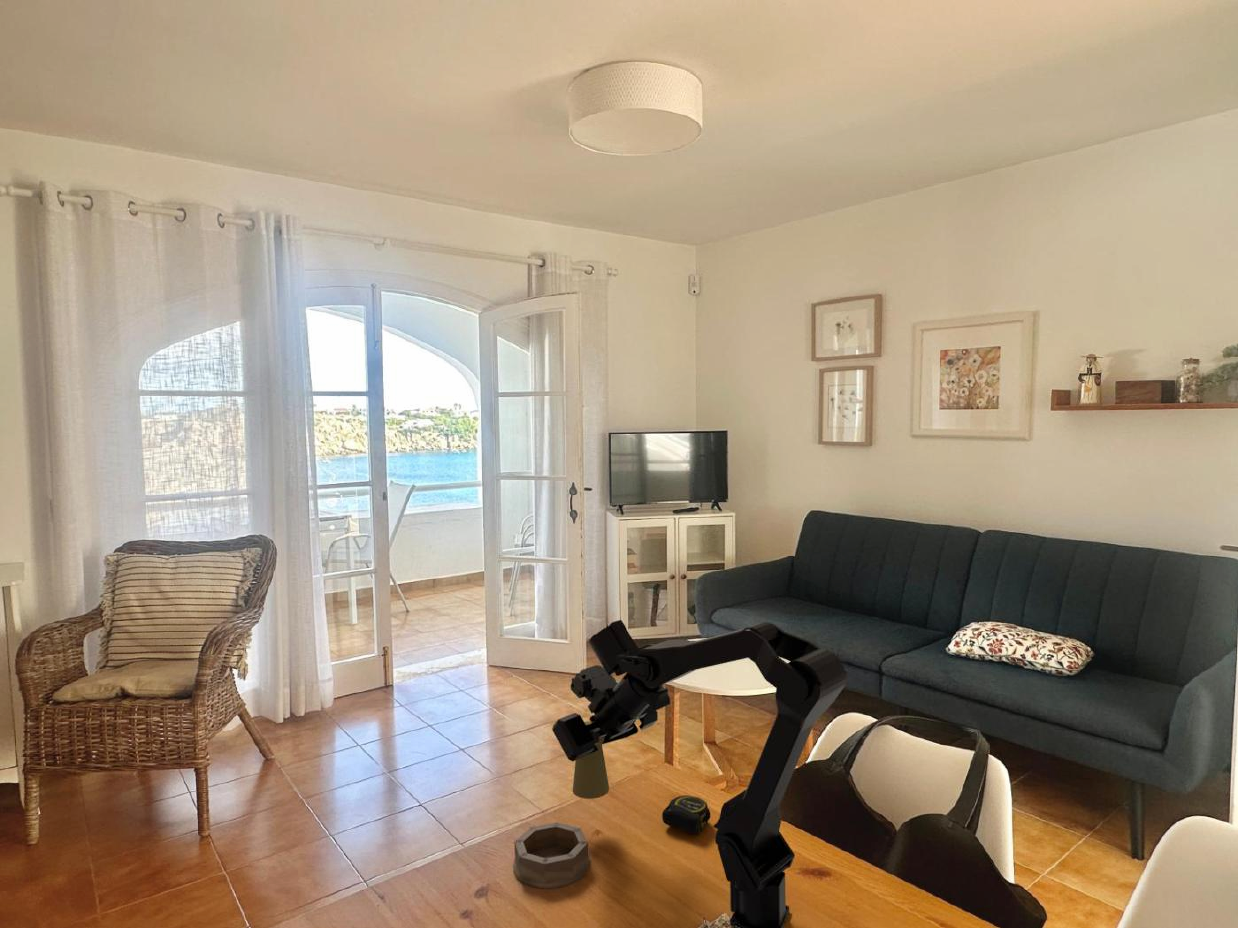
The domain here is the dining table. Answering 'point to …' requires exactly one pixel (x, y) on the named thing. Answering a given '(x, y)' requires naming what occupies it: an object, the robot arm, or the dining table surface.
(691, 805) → the tape measure
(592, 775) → the olive round-headed post
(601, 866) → the dining table surface
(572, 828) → the octagonal stone mortar
